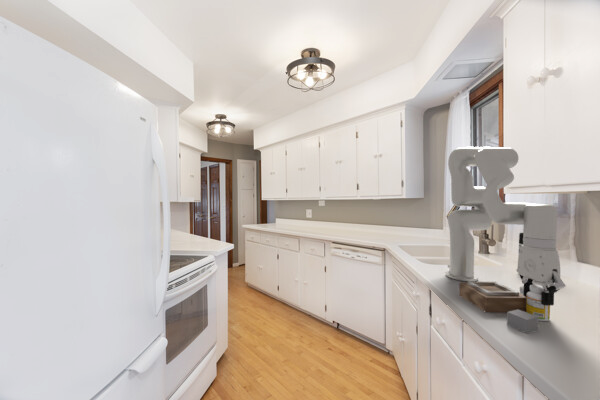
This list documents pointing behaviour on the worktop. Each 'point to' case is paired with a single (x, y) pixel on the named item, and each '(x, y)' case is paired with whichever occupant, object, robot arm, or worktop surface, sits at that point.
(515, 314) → the grey rubber block
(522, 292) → the metal tin
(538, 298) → the supplement bottle
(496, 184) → the robot arm
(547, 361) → the worktop surface
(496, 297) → the walnut stand
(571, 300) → the worktop surface
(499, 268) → the worktop surface
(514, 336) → the worktop surface
